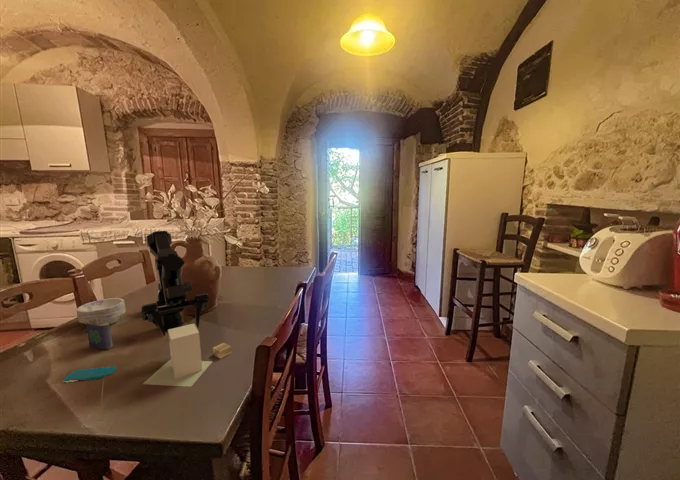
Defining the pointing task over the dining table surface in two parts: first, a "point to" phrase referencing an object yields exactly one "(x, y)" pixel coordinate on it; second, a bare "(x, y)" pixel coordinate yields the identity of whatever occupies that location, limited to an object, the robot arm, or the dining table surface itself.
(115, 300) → the paper bowls
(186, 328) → the upright cream box
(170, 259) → the robot arm
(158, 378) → the mat
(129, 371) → the dining table surface
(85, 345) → the dining table surface
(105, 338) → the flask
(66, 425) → the dining table surface
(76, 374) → the sponge
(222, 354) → the block
